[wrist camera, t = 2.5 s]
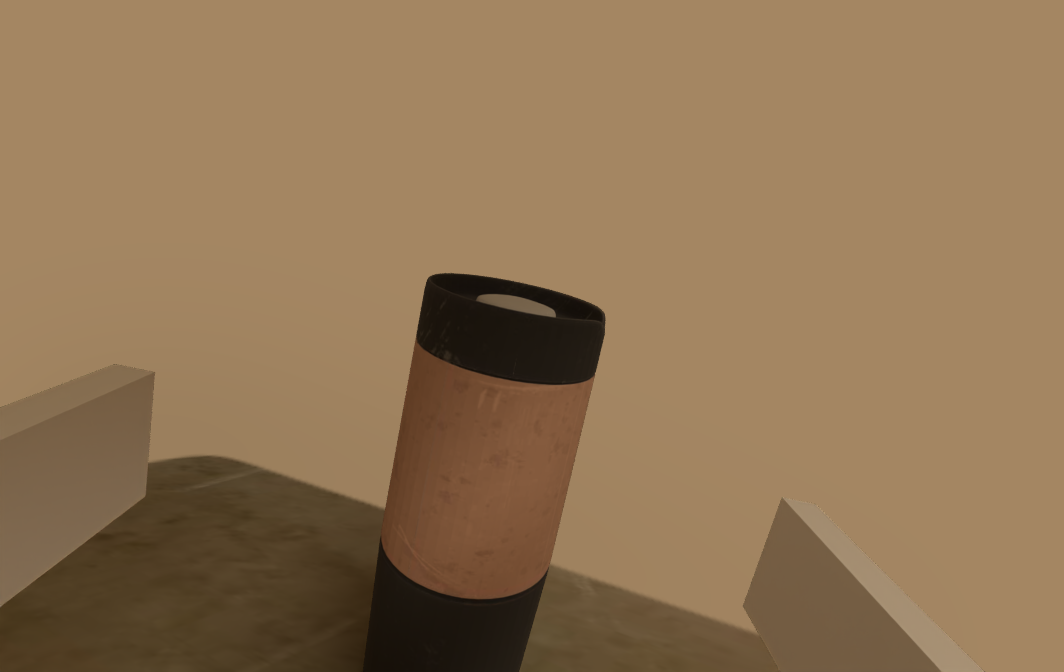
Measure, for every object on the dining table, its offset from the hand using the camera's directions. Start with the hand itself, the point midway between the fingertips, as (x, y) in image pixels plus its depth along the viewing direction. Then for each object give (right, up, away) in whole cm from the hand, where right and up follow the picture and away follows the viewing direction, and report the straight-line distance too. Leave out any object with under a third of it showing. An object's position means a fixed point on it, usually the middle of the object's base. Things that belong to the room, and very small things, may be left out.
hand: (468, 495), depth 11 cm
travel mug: (-3, -14, +15) cm, 21 cm away
